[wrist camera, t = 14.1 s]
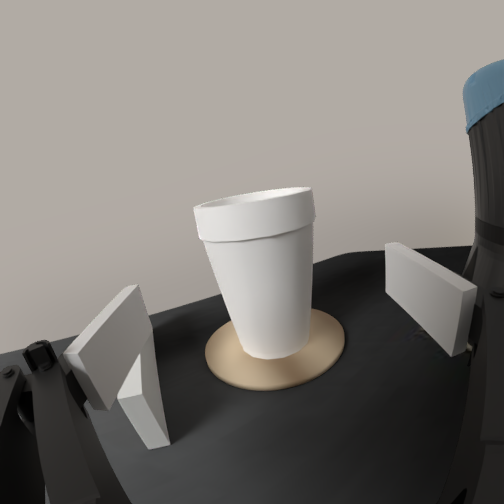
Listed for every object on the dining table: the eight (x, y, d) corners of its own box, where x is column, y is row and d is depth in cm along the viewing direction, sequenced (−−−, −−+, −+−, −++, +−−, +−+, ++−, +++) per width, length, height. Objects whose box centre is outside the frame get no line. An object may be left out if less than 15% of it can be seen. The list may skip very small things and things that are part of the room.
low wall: (152, 331, 32) (140, 293, 31) (170, 444, 15) (142, 394, 14) (140, 334, 31) (127, 296, 30) (148, 449, 15) (117, 399, 14)
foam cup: (246, 385, 20) (208, 212, 17) (213, 334, 29) (183, 206, 25) (347, 340, 23) (336, 186, 20) (294, 306, 32) (278, 187, 28)
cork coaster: (300, 300, 34) (300, 295, 34) (373, 348, 22) (374, 343, 22) (195, 334, 30) (193, 329, 30) (229, 412, 18) (227, 407, 18)
